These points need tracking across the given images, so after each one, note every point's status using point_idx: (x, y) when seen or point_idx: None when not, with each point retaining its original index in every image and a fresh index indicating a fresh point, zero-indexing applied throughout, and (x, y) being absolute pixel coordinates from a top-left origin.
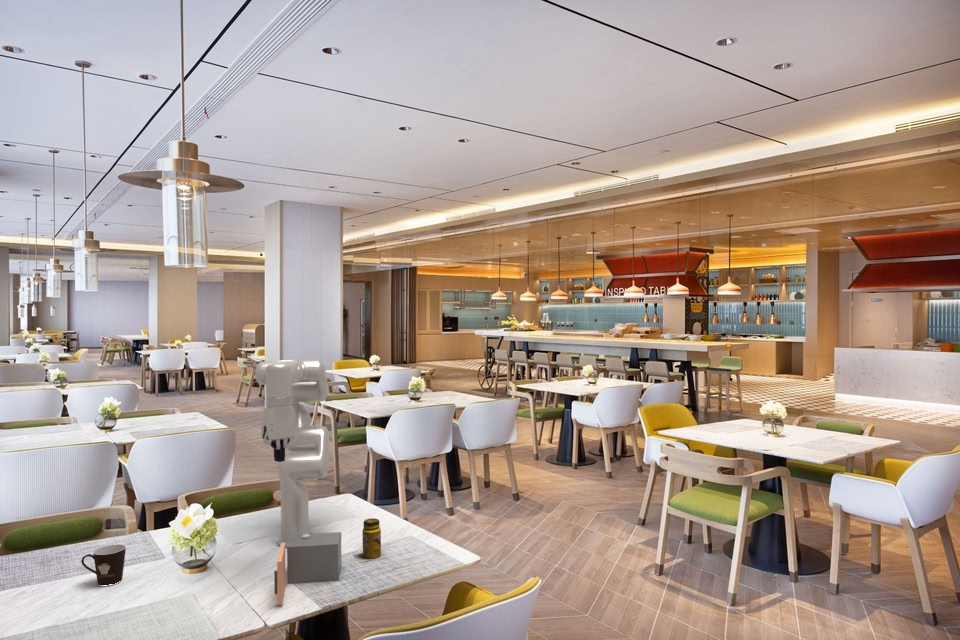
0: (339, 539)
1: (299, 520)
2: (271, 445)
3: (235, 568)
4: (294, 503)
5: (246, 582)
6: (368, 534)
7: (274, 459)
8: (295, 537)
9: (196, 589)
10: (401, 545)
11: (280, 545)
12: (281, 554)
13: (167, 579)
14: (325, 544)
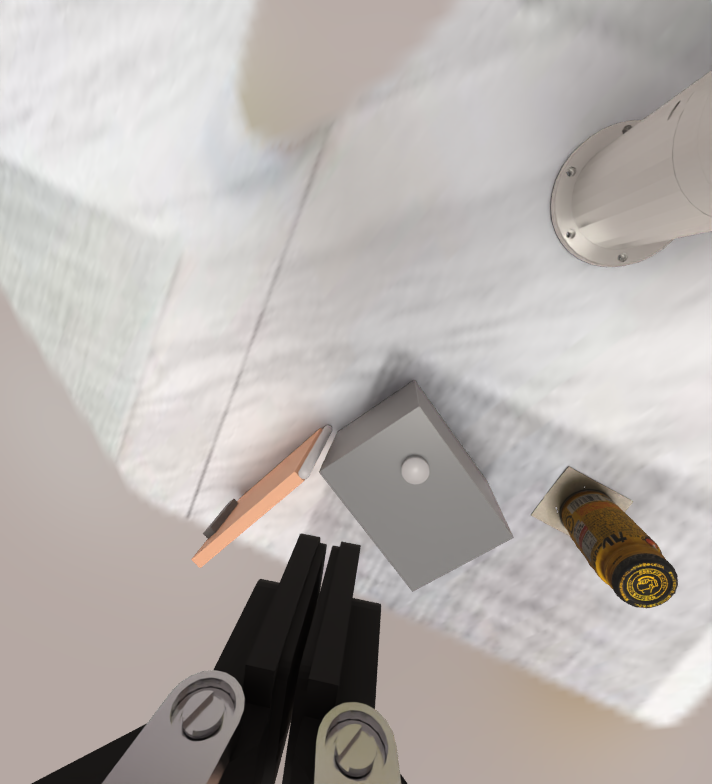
0: (456, 565)
1: (641, 232)
2: (87, 780)
3: (344, 214)
4: (679, 201)
5: (293, 329)
6: (592, 564)
7: (297, 540)
8: (400, 433)
9: (199, 242)
10: (697, 543)
11: (284, 480)
12: (234, 534)
13: (192, 91)
14: (392, 561)
